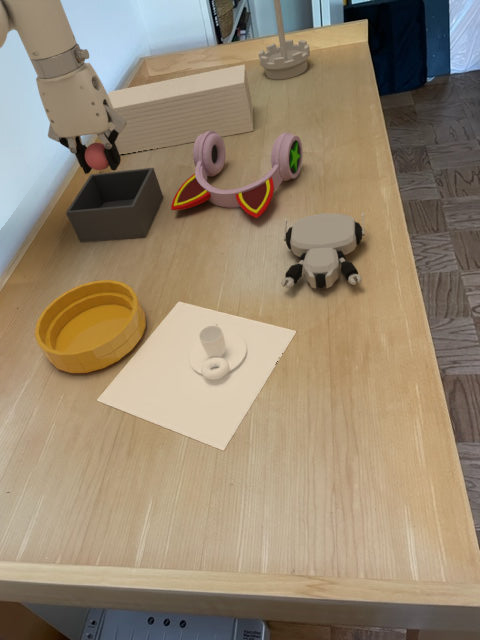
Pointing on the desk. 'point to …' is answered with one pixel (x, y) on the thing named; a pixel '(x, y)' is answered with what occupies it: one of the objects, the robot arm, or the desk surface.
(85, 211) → the bin
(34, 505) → the desk surface
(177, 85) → the stack of papers
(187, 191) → the headphones
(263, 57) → the flag stand
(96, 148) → the toy ball
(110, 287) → the bowl
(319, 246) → the robot toy
